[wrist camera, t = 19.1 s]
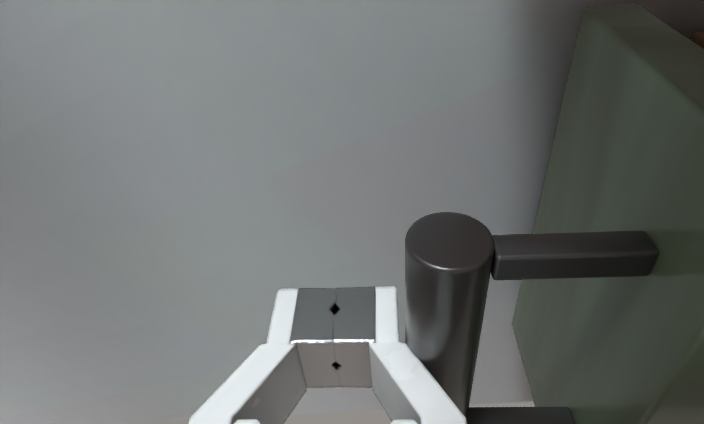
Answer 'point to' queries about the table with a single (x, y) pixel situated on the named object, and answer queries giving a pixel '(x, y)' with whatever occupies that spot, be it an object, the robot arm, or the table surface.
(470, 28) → the table surface
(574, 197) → the drawer
